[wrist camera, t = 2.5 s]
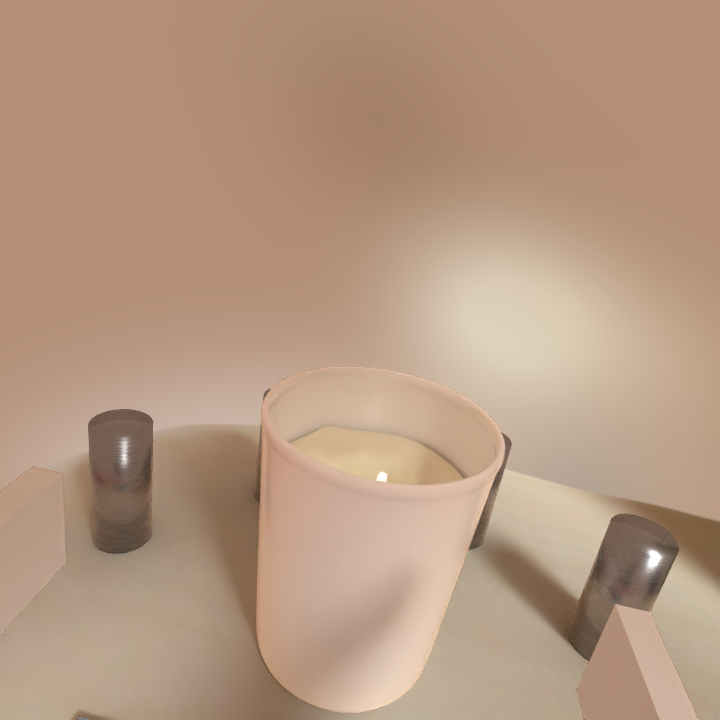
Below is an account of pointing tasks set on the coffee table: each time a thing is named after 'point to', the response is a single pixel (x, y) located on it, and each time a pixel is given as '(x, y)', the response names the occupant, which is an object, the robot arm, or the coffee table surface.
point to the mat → (82, 719)
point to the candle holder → (364, 527)
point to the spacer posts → (601, 592)
